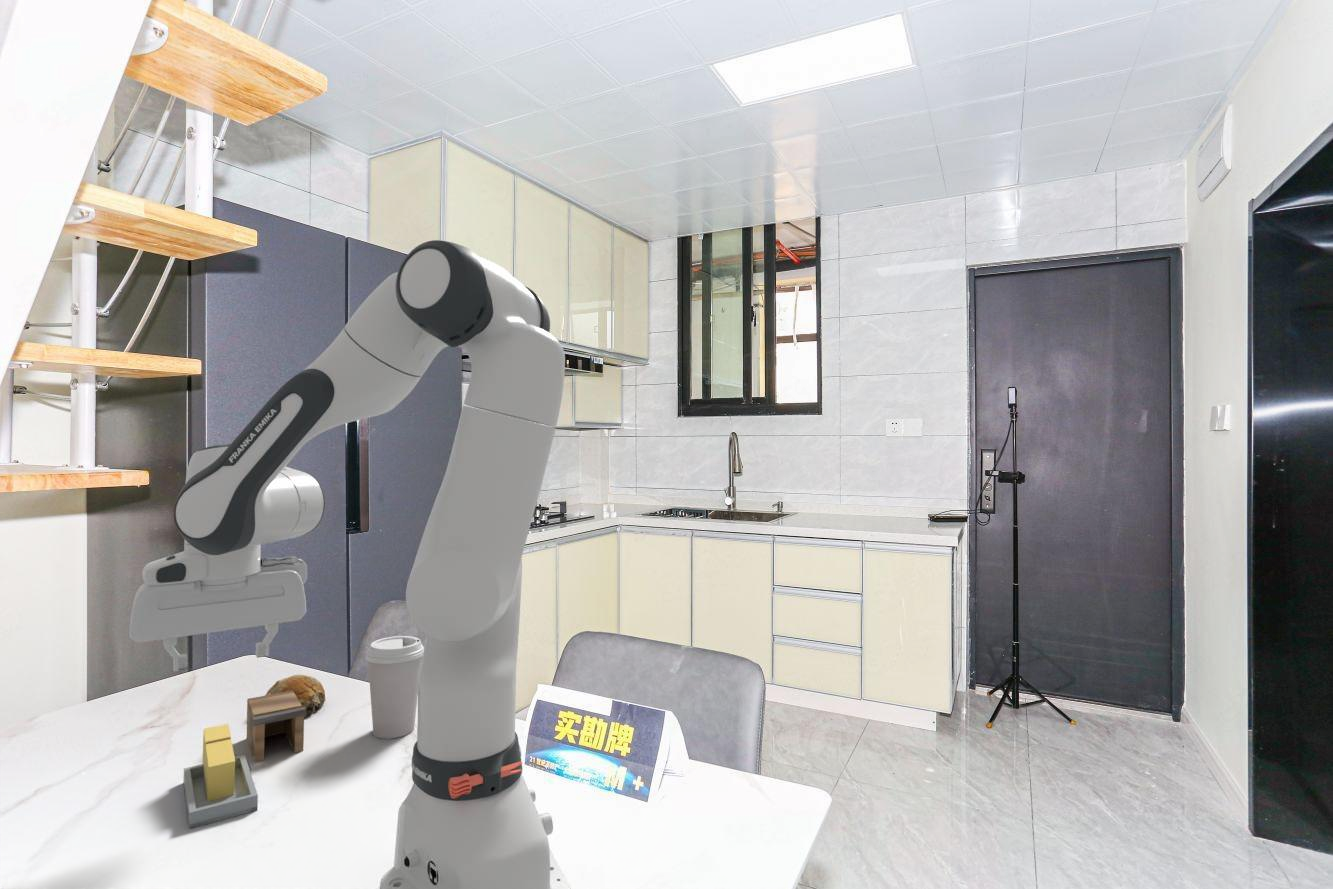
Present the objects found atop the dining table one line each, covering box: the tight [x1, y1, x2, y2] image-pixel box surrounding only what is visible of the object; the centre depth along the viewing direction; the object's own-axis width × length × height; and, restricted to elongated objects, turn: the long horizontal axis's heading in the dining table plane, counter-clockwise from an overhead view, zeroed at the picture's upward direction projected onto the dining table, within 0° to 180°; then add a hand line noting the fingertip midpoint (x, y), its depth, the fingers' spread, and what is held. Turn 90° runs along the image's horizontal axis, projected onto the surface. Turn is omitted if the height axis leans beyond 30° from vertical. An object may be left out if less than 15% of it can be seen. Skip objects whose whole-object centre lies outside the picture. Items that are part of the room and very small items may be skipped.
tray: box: [183, 754, 259, 830], centre depth 93 cm, size 14×7×2 cm, turn 38°
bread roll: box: [265, 674, 326, 718], centre depth 123 cm, size 10×10×8 cm
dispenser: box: [246, 691, 307, 763], centre depth 109 cm, size 10×7×6 cm
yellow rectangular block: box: [202, 723, 236, 801], centre depth 95 cm, size 10×3×5 cm, turn 38°
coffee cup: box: [364, 635, 424, 740], centre depth 115 cm, size 10×10×15 cm
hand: (222, 662), depth 93 cm, fingers open, 8 cm apart
